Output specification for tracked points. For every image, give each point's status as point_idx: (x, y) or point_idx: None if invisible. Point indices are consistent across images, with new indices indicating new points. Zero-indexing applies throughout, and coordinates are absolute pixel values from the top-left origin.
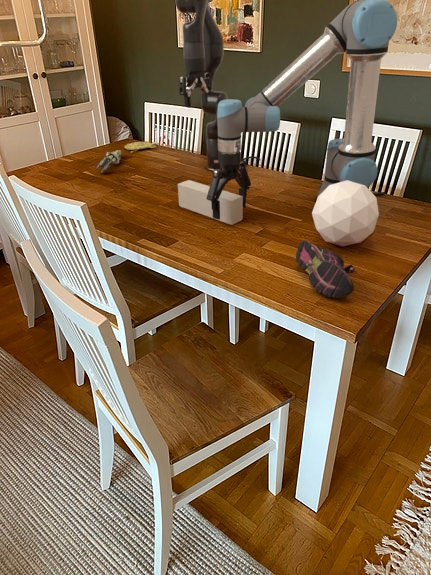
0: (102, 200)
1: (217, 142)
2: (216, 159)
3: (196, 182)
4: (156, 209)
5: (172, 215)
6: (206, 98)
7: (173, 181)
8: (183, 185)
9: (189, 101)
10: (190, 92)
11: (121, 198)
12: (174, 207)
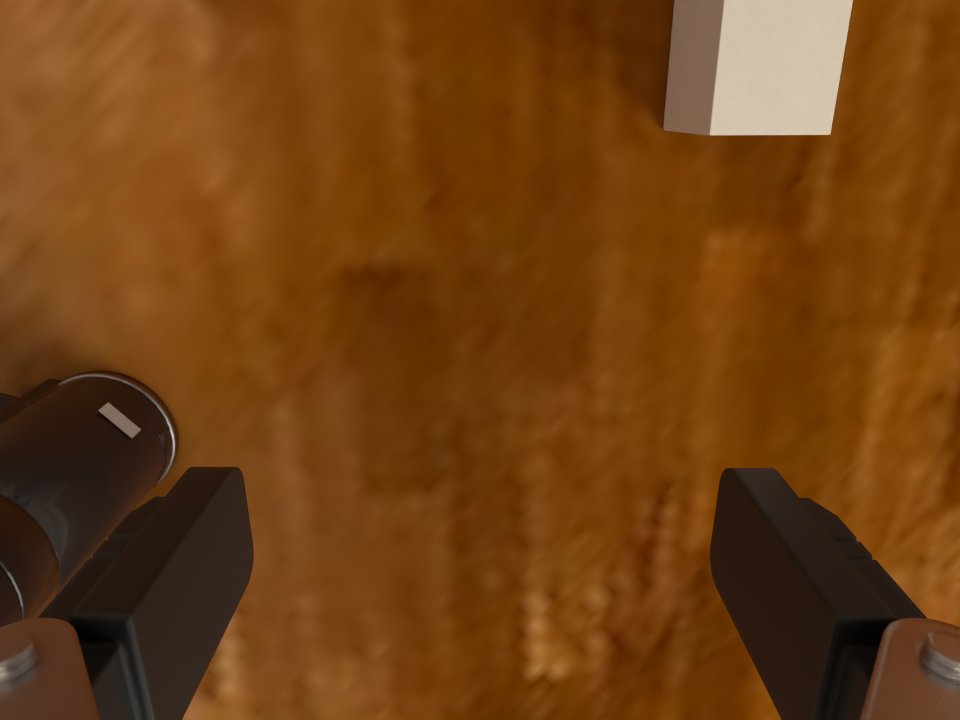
0: (913, 526)
1: (28, 487)
2: (114, 430)
3: (724, 34)
4: (872, 201)
5: (901, 44)
6: (168, 524)
7: (469, 464)
8: (836, 67)
9: (819, 536)
10: (907, 717)
11: (840, 478)
12: (790, 137)
